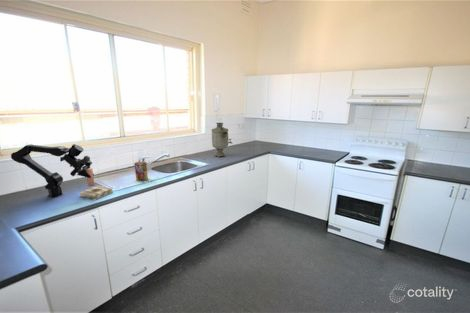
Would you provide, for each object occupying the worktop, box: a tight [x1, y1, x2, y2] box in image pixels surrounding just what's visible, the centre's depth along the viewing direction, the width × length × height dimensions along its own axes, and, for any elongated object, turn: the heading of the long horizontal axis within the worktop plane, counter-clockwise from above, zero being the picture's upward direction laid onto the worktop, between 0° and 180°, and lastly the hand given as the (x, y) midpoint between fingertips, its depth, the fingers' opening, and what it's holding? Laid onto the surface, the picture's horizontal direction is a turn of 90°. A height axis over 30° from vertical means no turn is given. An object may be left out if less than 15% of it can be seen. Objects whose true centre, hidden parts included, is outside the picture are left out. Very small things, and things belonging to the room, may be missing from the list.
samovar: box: [211, 122, 233, 159], centre depth 274 cm, size 30×26×40 cm
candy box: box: [134, 160, 149, 181], centre depth 193 cm, size 9×4×15 cm, turn 104°
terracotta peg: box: [86, 167, 95, 187], centre depth 161 cm, size 4×4×12 cm
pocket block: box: [79, 185, 114, 200], centre depth 164 cm, size 14×14×3 cm
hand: (92, 176), depth 161 cm, fingers closed on terracotta peg, 4 cm apart
